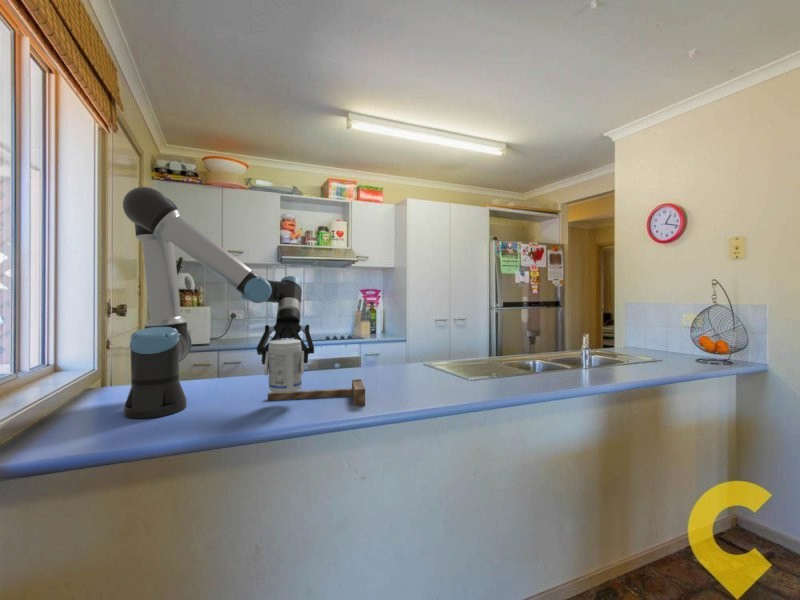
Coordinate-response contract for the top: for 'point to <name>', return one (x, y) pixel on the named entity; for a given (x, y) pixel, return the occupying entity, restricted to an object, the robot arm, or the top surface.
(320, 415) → the top surface
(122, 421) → the top surface
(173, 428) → the top surface
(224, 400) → the top surface
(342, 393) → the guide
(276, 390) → the supplement tub
